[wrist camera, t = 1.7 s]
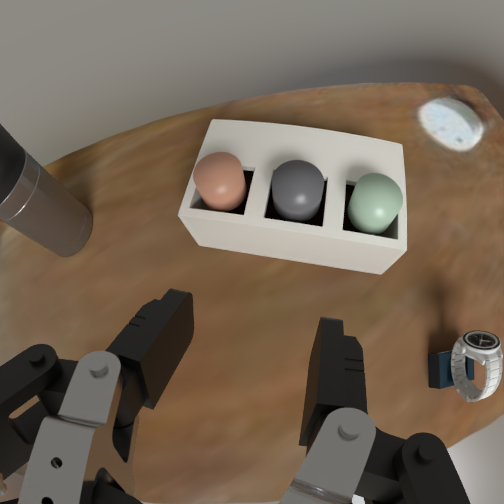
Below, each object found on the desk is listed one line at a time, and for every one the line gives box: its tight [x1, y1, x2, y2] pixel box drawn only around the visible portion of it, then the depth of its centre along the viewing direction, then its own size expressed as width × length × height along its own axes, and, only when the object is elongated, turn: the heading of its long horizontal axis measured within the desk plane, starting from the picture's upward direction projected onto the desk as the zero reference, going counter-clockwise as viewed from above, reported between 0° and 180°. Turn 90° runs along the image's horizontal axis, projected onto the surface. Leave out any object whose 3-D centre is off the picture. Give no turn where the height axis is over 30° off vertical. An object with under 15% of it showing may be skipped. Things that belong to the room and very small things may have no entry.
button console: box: [178, 119, 407, 274], centre depth 36 cm, size 24×14×9 cm, turn 79°
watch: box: [428, 331, 503, 402], centre depth 26 cm, size 6×8×11 cm
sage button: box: [348, 173, 403, 235], centre depth 29 cm, size 5×5×4 cm
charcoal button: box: [272, 160, 324, 222], centre depth 30 cm, size 5×5×4 cm
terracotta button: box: [193, 152, 247, 212], centre depth 31 cm, size 5×5×4 cm
